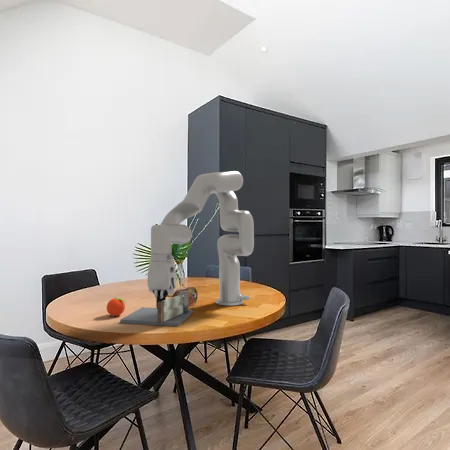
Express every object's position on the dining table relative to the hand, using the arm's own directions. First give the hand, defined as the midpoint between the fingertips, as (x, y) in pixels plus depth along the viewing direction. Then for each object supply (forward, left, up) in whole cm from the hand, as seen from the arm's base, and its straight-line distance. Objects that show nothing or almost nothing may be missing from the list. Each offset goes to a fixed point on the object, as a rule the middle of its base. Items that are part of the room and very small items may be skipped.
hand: (161, 308), depth 122 cm
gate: (-3, -1, -4) cm, 5 cm away
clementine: (+20, -6, -5) cm, 22 cm away
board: (+3, -6, -5) cm, 9 cm away
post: (-6, -11, -5) cm, 13 cm away
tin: (-2, -25, -6) cm, 25 cm away
